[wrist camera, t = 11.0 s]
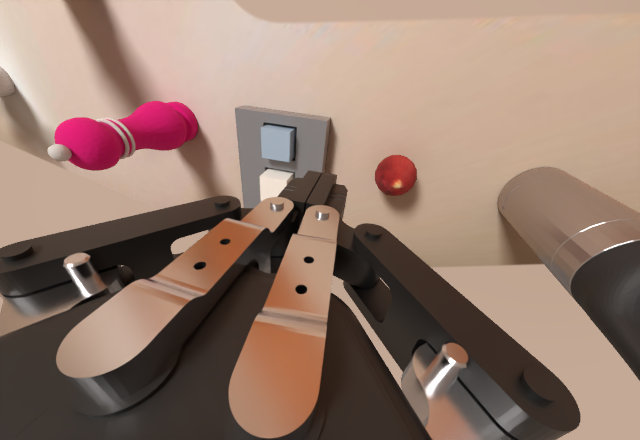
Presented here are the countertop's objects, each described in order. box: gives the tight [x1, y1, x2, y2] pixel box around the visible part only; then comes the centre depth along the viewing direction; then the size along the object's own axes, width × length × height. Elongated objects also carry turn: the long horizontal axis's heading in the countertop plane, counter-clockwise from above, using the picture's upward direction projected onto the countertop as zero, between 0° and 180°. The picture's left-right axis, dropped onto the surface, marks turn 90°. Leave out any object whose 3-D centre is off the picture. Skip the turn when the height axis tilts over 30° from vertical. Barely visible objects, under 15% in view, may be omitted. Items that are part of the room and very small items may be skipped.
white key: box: [260, 168, 294, 201], centre depth 40 cm, size 4×4×4 cm
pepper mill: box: [48, 101, 198, 170], centre depth 33 cm, size 7×7×20 cm
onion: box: [375, 155, 417, 196], centre depth 35 cm, size 6×6×8 cm
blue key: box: [261, 123, 297, 162], centre depth 37 cm, size 4×4×4 cm
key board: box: [235, 106, 331, 208], centre depth 42 cm, size 14×22×3 cm, turn 174°
